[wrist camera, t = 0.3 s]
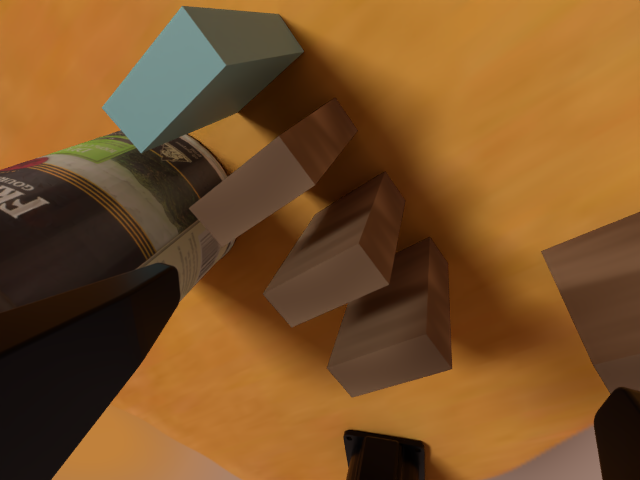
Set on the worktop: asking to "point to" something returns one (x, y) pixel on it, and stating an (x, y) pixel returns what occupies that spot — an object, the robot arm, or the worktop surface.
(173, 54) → the domino
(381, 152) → the worktop surface
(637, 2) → the worktop surface
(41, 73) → the worktop surface
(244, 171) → the domino
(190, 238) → the coffee can
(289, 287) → the domino
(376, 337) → the domino
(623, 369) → the domino
